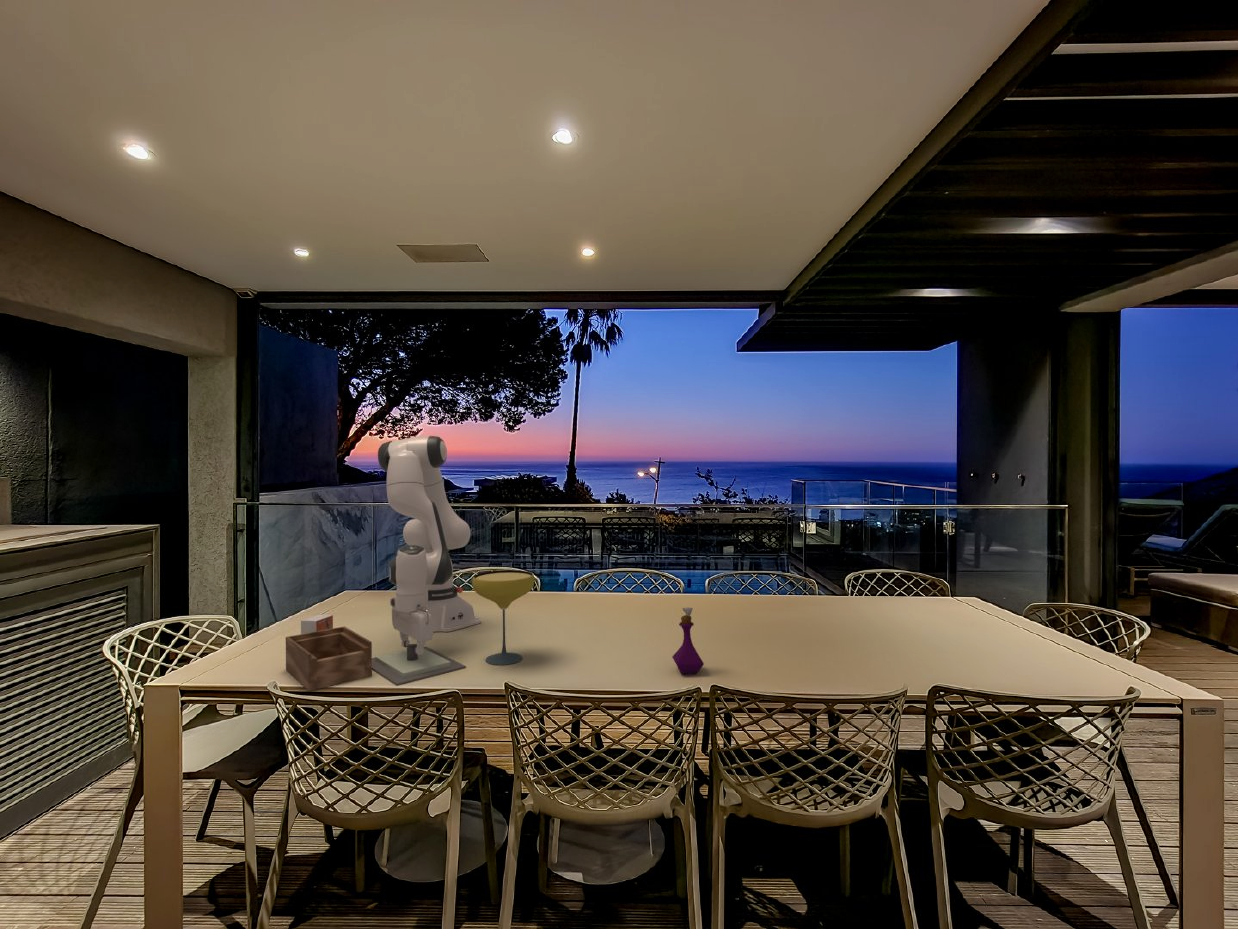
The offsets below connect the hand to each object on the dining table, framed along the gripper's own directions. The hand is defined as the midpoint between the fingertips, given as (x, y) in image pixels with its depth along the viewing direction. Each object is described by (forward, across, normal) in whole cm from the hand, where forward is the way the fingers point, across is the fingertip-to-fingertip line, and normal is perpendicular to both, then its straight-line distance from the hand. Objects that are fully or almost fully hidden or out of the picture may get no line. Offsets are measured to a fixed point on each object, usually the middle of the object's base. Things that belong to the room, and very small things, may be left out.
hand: (412, 650), depth 174 cm
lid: (+4, 0, 0) cm, 4 cm away
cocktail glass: (+4, -14, -22) cm, 26 cm away
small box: (+5, +34, +16) cm, 38 cm away
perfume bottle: (+4, -59, -53) cm, 79 cm away
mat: (+4, 0, 0) cm, 4 cm away
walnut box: (+4, +10, +20) cm, 23 cm away
